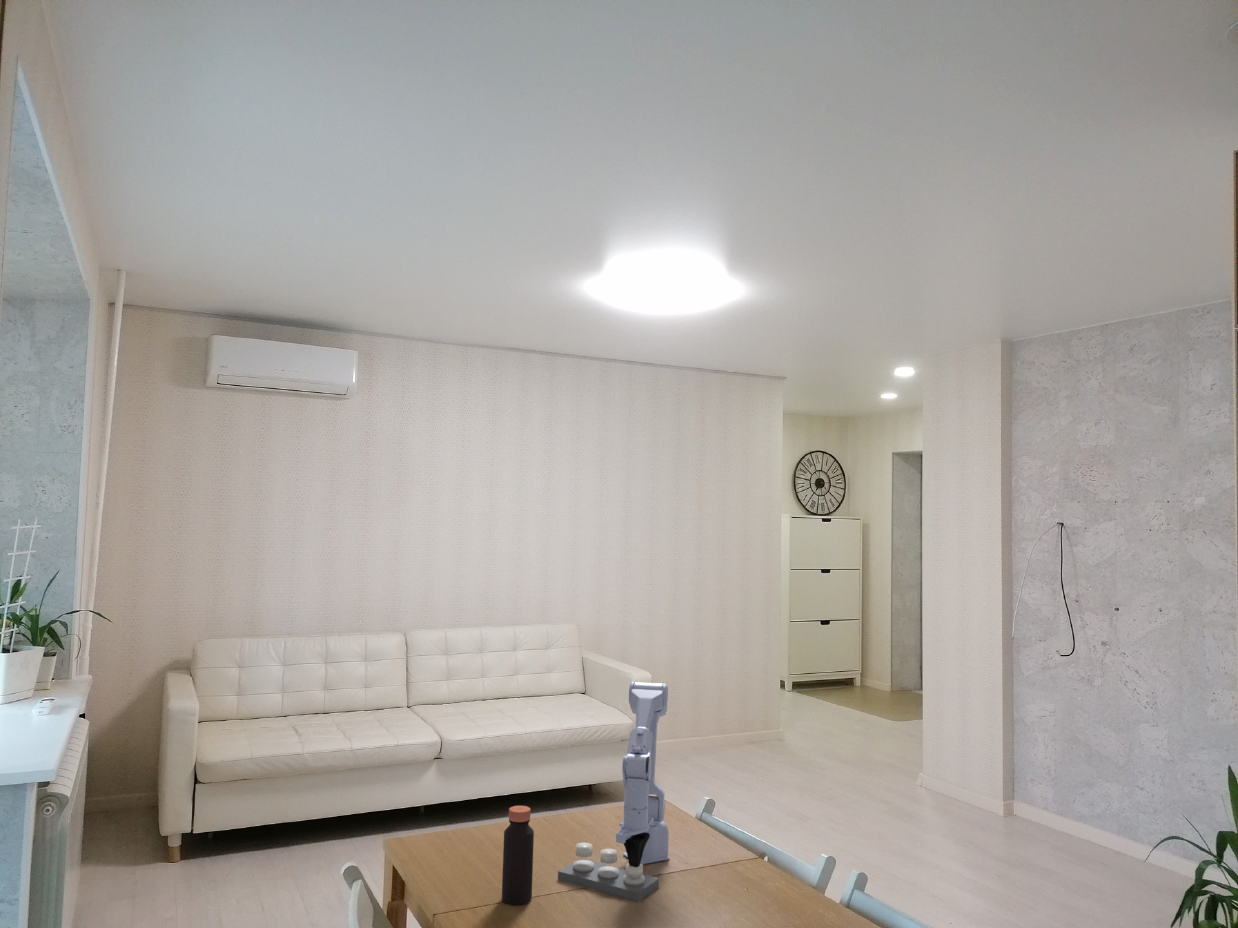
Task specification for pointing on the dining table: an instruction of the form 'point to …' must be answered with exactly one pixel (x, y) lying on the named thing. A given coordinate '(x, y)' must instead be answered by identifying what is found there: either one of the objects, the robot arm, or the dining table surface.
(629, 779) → the robot arm
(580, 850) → the knob
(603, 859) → the knob
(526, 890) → the bottle
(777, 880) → the dining table surface
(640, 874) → the knob
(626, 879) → the knob panel
